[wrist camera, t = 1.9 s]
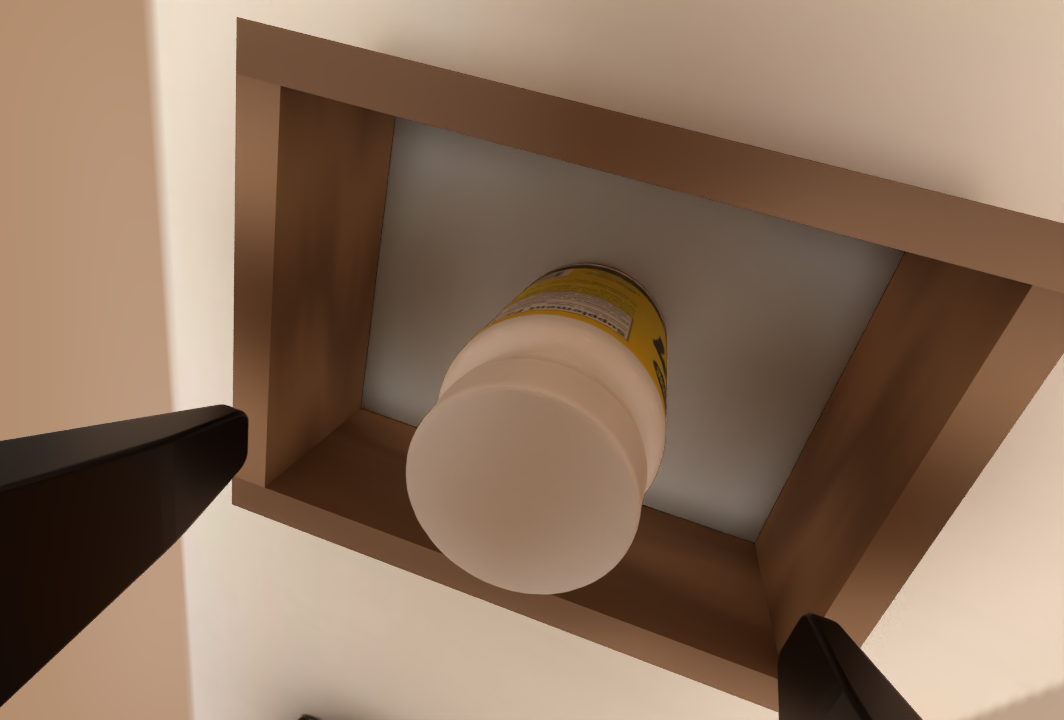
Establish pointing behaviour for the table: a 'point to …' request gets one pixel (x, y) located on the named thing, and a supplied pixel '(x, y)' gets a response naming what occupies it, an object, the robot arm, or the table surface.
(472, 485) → the supplement bottle
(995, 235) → the walnut box
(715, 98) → the table surface
